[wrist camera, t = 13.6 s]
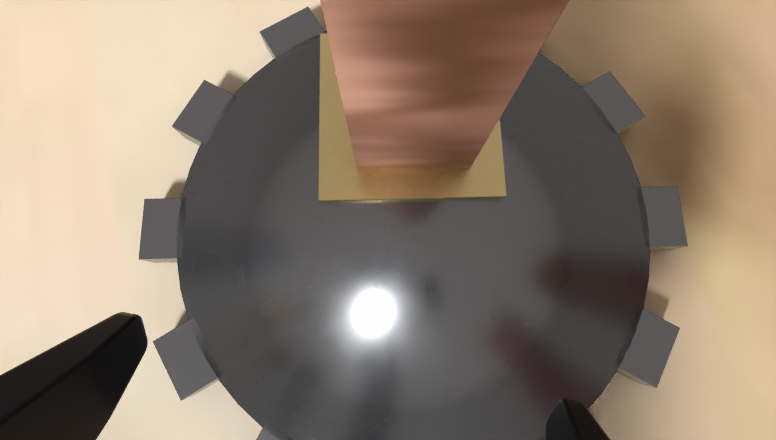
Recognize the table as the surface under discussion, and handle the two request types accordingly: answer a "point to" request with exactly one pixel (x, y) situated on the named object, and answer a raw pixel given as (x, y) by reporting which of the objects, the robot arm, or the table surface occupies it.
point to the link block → (431, 72)
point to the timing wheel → (408, 260)
